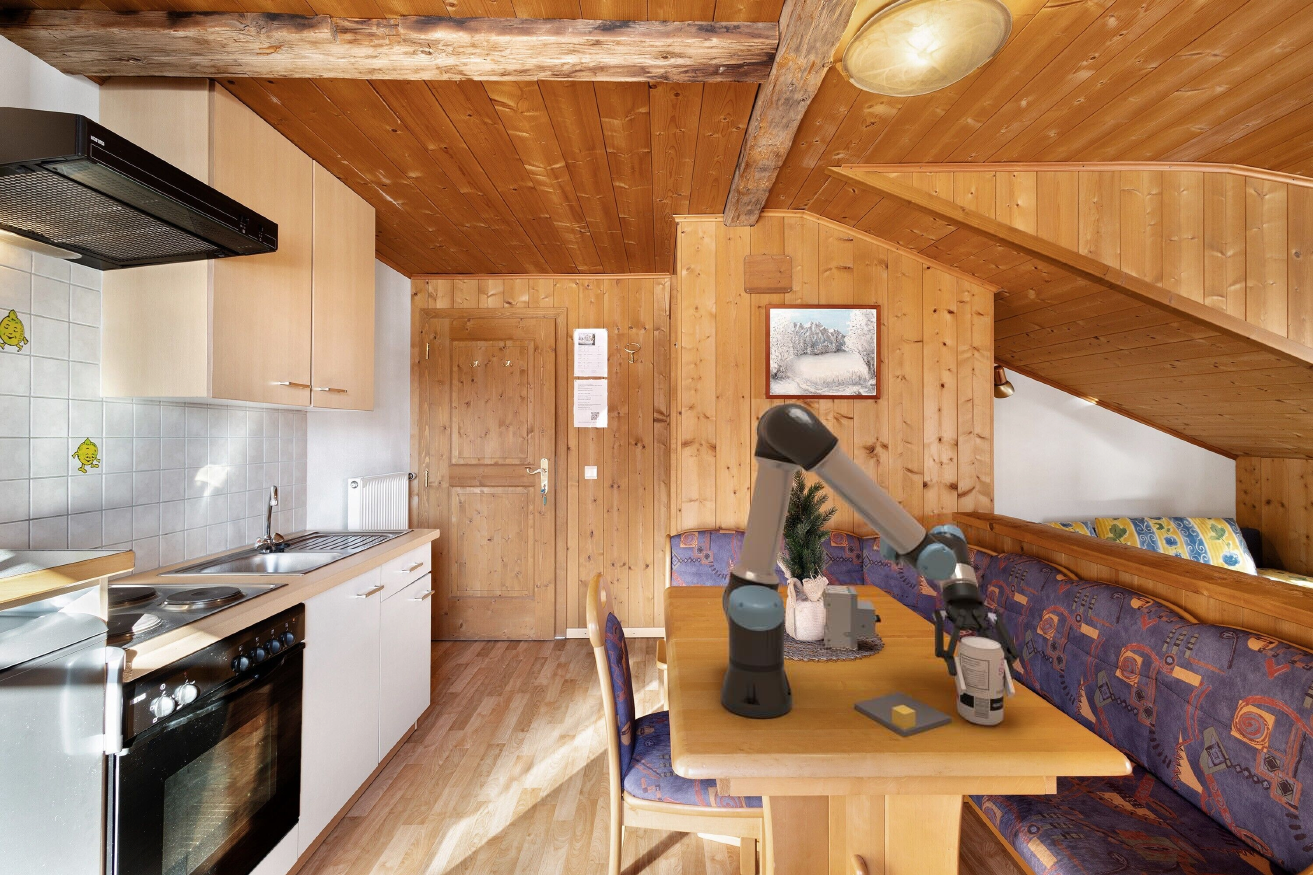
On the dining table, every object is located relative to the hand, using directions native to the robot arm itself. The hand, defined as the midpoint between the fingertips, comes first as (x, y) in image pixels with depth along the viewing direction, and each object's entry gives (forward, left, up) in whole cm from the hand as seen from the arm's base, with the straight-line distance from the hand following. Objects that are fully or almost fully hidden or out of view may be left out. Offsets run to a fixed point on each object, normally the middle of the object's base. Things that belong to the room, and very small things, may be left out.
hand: (986, 693), depth 118 cm
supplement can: (+2, +3, -6) cm, 7 cm away
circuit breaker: (+8, +45, -7) cm, 46 cm away
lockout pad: (-11, +11, -7) cm, 17 cm away
